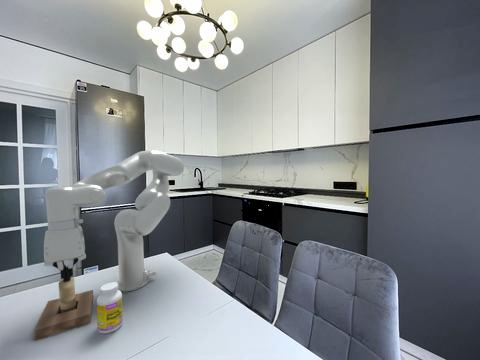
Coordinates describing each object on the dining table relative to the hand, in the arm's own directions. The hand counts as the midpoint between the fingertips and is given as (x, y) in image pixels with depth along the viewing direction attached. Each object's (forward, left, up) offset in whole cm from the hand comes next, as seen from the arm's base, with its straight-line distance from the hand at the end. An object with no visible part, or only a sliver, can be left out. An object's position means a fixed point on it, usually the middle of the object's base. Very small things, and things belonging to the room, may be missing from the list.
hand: (67, 279), depth 71 cm
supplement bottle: (-12, +13, -13) cm, 22 cm away
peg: (0, 0, -12) cm, 12 cm away
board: (0, 0, -12) cm, 12 cm away
